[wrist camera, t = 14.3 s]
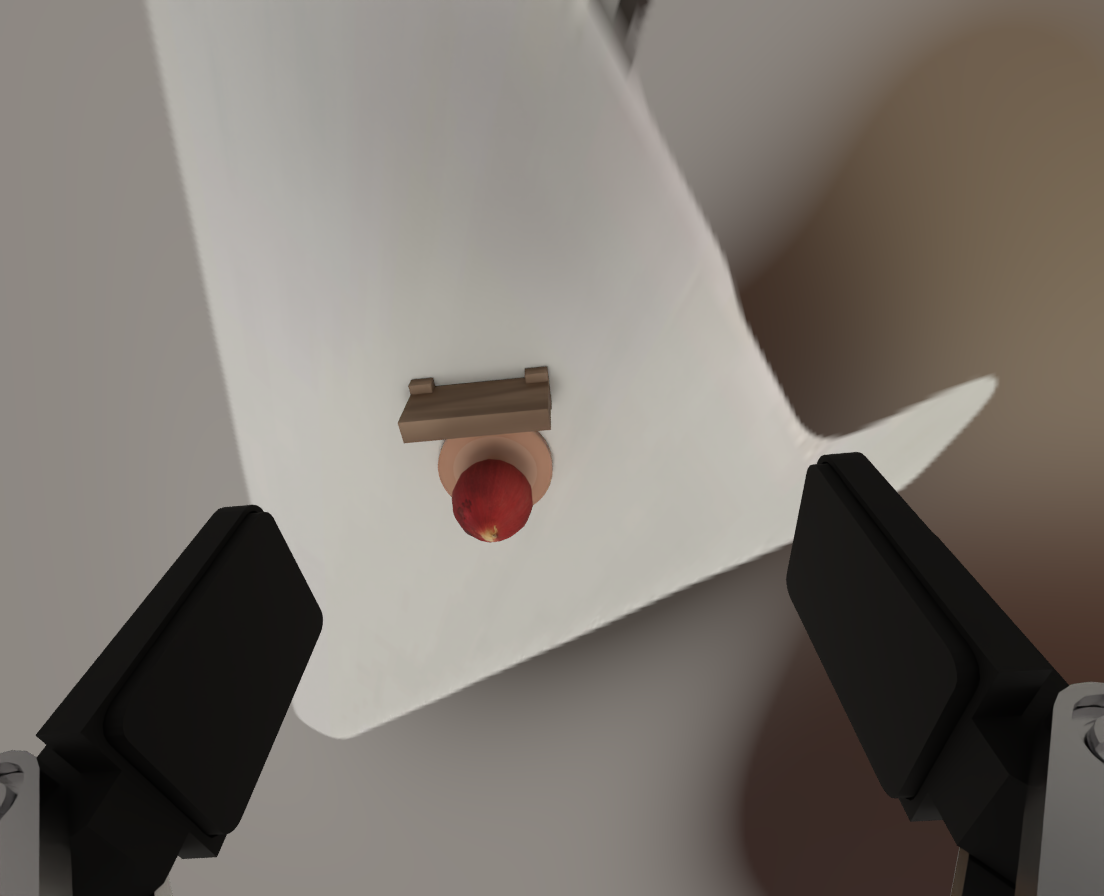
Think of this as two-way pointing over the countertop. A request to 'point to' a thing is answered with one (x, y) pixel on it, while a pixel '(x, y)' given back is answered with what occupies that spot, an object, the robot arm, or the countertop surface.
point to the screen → (477, 408)
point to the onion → (492, 500)
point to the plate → (499, 458)
